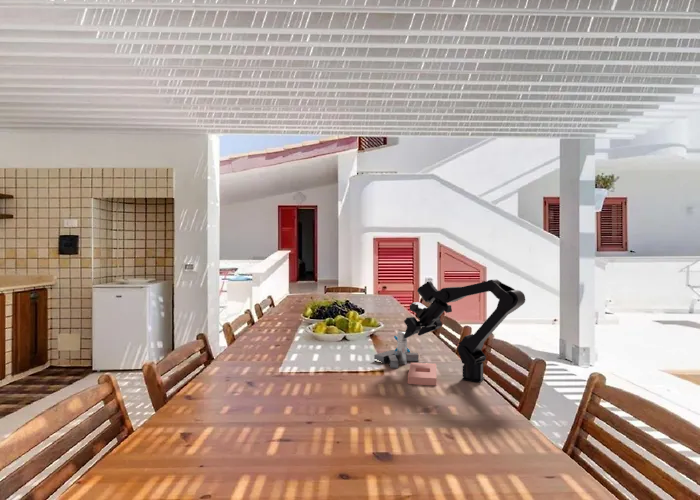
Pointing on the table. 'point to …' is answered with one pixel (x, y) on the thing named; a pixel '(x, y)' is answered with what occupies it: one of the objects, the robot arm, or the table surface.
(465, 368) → the robot arm
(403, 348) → the axle
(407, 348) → the gear
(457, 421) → the table surface
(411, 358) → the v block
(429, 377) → the beam plate
